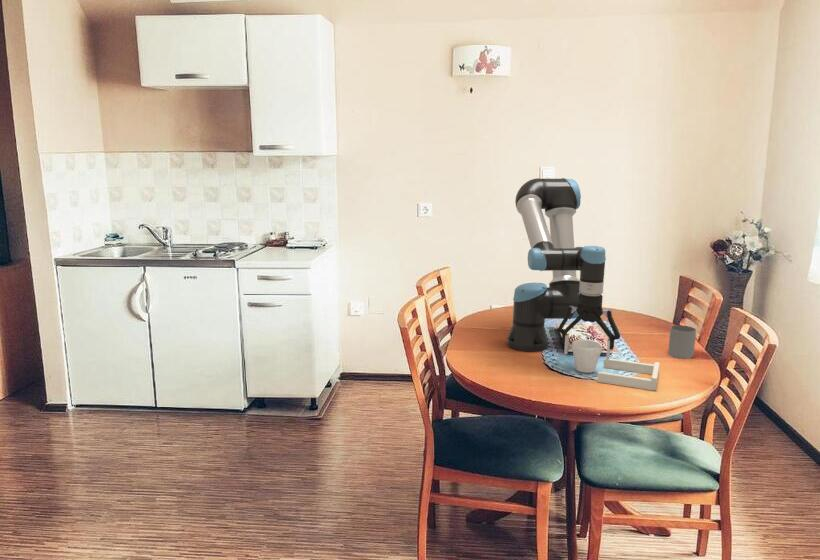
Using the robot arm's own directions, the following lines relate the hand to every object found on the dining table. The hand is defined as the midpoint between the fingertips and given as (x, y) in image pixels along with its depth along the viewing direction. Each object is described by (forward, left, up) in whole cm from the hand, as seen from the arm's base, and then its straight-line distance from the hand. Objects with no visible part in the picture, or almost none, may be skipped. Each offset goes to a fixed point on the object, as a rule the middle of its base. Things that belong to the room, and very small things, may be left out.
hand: (586, 355), depth 214 cm
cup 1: (0, 0, -6) cm, 6 cm away
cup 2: (+29, +31, -6) cm, 43 cm away
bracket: (+14, -1, -5) cm, 15 cm away
